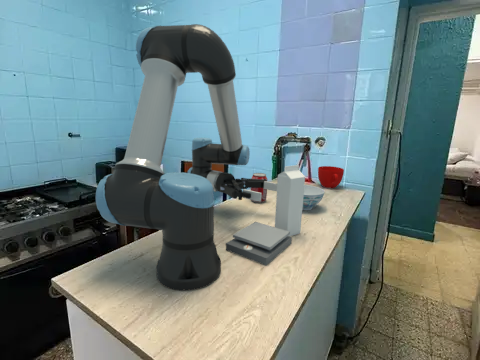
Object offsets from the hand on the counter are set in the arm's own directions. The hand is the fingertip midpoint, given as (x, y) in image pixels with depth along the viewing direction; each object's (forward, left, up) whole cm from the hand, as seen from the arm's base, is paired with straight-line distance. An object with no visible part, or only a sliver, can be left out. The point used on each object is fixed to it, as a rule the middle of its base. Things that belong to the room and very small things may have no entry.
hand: (271, 192), depth 89 cm
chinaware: (+25, -2, -12) cm, 28 cm away
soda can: (+20, +17, -12) cm, 29 cm away
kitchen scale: (-14, -5, -12) cm, 19 cm away
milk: (-1, -7, -12) cm, 14 cm away
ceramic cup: (+63, -1, -12) cm, 65 cm away
